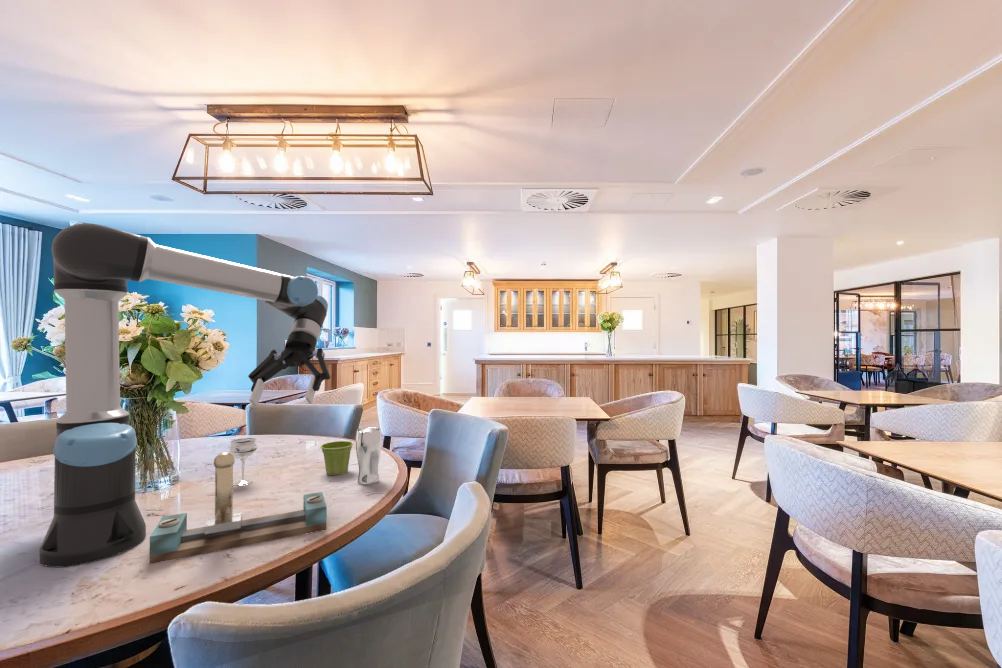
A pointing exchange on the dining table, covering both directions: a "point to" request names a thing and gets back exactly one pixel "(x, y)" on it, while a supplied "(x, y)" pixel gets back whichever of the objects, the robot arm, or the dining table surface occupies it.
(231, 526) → the knob-topped peg
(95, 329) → the robot arm
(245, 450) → the wineglass
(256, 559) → the dining table surface
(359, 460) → the beer glass
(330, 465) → the plant pot
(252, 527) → the rail track
